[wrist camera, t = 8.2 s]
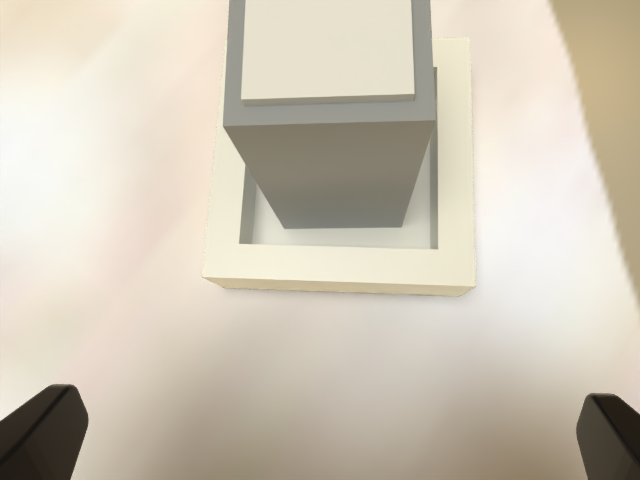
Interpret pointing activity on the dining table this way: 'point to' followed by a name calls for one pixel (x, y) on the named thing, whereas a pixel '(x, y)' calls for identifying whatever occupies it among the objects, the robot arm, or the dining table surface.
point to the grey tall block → (331, 106)
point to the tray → (357, 243)
